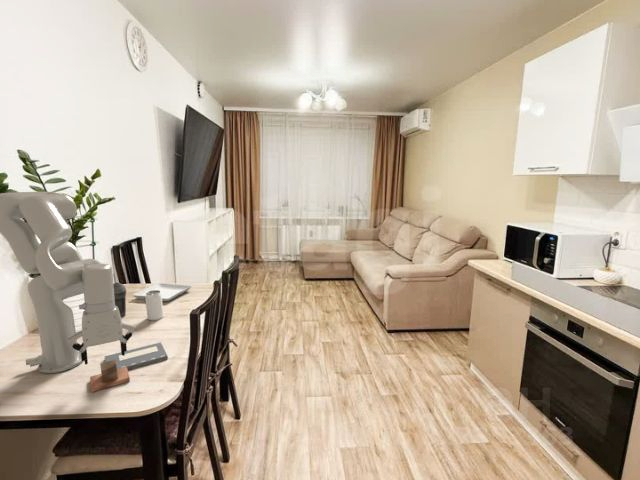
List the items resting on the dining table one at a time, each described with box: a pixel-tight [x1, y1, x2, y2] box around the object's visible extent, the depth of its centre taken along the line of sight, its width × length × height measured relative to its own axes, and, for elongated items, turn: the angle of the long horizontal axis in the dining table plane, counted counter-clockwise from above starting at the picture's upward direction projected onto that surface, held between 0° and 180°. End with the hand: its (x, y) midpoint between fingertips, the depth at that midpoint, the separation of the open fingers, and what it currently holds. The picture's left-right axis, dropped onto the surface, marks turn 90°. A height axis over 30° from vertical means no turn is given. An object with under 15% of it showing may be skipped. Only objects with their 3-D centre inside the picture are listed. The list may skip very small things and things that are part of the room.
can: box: [145, 290, 164, 321], centre depth 154 cm, size 6×6×12 cm
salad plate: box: [132, 282, 192, 302], centre depth 184 cm, size 21×21×3 cm
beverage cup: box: [113, 273, 127, 319], centre depth 155 cm, size 7×7×20 cm
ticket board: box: [104, 342, 169, 371], centre depth 120 cm, size 18×12×1 cm, turn 125°
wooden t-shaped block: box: [89, 360, 131, 393], centre depth 106 cm, size 10×7×5 cm
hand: (105, 357), depth 106 cm, fingers open, 9 cm apart
